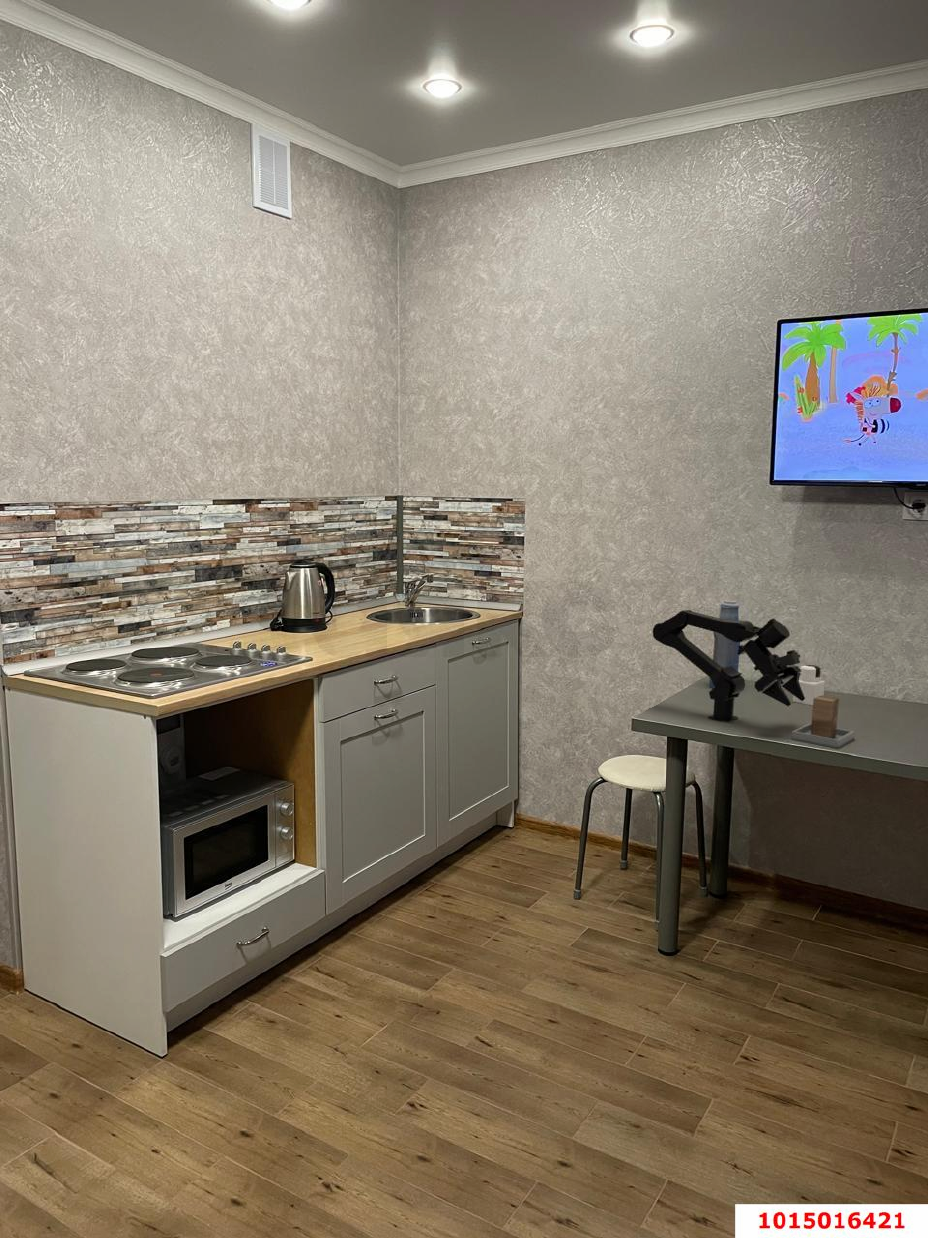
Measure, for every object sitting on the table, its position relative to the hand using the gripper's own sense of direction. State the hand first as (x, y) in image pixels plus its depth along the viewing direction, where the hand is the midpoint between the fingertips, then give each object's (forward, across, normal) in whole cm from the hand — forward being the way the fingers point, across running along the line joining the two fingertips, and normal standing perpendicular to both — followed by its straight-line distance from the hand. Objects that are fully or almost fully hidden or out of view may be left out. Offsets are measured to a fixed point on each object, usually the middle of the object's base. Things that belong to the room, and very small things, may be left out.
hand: (796, 702), depth 259 cm
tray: (+12, 0, +1) cm, 12 cm away
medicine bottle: (-3, +40, +16) cm, 43 cm away
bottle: (-24, +39, +36) cm, 58 cm away
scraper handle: (+12, 0, 0) cm, 12 cm away
